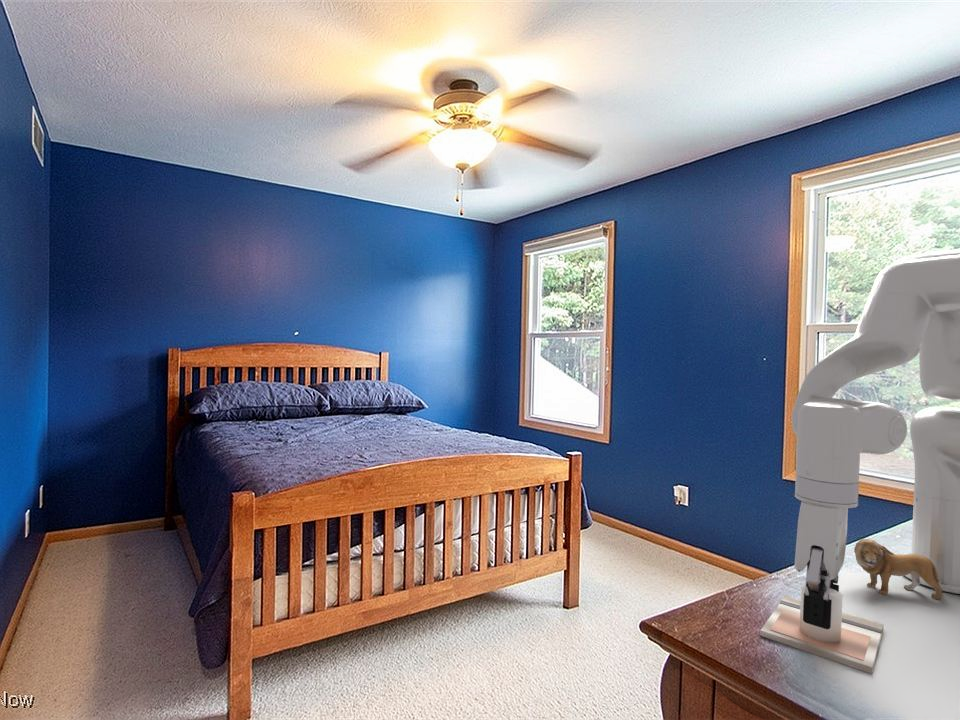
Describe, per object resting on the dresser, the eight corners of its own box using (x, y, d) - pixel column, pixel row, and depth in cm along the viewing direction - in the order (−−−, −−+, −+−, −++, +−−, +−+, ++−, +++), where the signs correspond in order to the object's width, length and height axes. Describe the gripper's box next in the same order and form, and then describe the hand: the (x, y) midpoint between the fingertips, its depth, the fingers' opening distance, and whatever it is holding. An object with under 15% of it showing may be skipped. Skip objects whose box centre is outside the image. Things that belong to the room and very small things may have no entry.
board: (784, 600, 88) (785, 595, 88) (883, 629, 80) (883, 623, 80) (760, 635, 77) (760, 629, 77) (871, 673, 69) (872, 666, 69)
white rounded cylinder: (803, 621, 80) (804, 581, 80) (843, 633, 77) (845, 591, 77) (795, 633, 76) (797, 591, 76) (837, 647, 73) (839, 603, 73)
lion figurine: (865, 597, 91) (867, 544, 91) (844, 583, 96) (846, 533, 96) (954, 600, 90) (957, 547, 90) (929, 586, 96) (931, 536, 95)
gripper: (807, 476, 85) (803, 589, 86) (781, 496, 72) (776, 630, 73) (865, 485, 80) (860, 605, 81) (848, 508, 67) (843, 652, 68)
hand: (820, 615), depth 77 cm, fingers open, 5 cm apart
